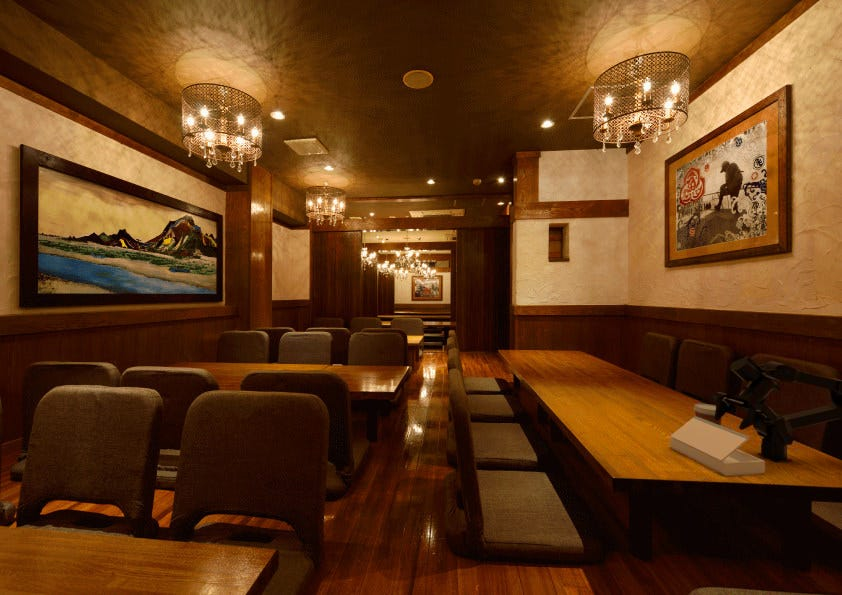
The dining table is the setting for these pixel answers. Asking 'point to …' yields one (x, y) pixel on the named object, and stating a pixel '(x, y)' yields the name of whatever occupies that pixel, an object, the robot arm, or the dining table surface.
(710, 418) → the disposable coffee cup
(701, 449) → the flap
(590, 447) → the dining table surface
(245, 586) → the dining table surface
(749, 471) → the carton
